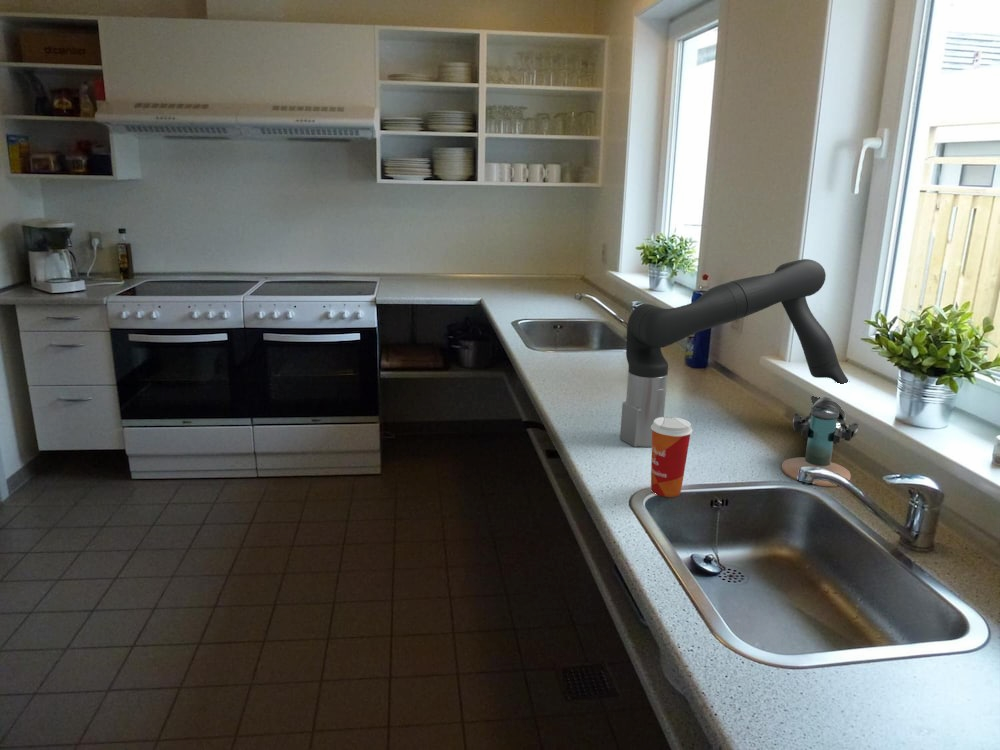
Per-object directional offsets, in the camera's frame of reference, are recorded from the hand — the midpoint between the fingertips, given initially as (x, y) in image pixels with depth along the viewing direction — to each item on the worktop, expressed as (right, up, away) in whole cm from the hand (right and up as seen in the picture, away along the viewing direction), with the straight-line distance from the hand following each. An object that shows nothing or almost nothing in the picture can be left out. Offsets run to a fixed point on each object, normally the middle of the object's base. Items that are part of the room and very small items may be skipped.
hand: (820, 437), depth 159 cm
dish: (+1, -8, +5) cm, 10 cm away
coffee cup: (-35, -11, -7) cm, 37 cm away
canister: (+1, -6, +4) cm, 7 cm away
